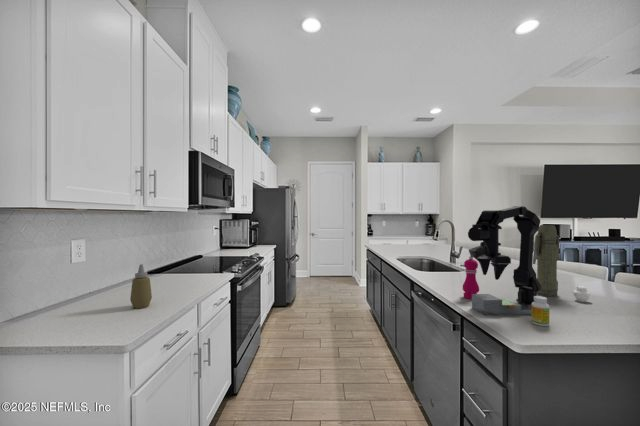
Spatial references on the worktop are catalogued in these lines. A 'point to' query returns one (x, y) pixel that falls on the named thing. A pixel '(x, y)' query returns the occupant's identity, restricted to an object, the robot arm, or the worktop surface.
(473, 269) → the pepper mill
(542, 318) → the supplement bottle
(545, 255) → the thermos
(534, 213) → the robot arm
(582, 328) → the worktop surface
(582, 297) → the muffin
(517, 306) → the stand
